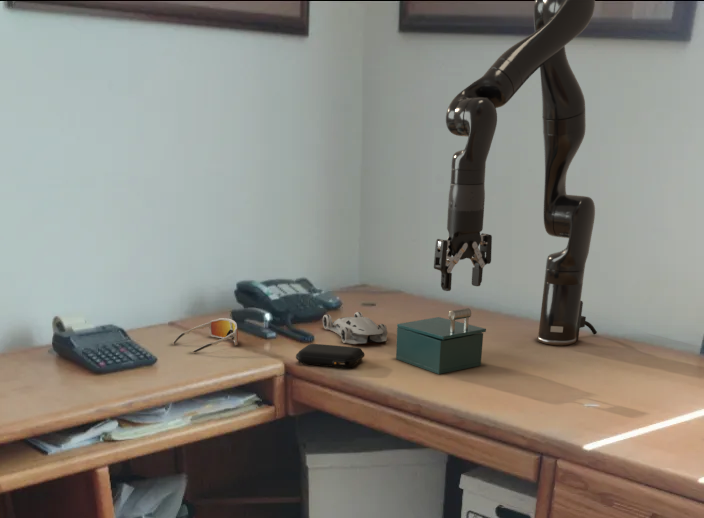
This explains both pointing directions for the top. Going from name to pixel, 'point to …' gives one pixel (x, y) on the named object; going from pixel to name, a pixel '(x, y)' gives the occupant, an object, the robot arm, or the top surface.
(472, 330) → the tin lid
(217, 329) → the sunglasses
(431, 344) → the lunch tin
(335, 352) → the carrying case
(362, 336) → the car model
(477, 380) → the top surface
